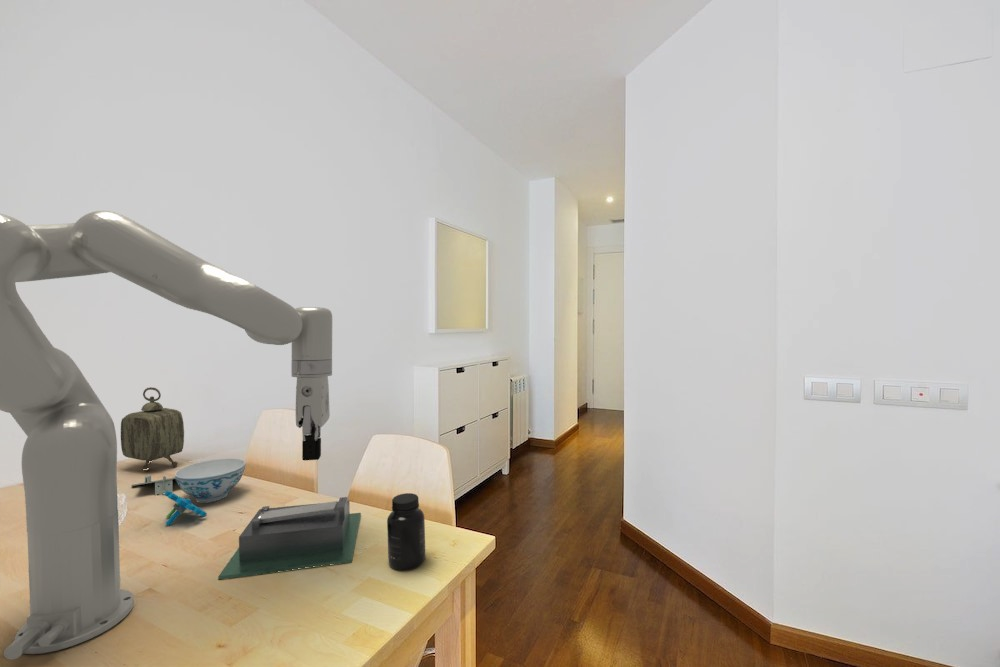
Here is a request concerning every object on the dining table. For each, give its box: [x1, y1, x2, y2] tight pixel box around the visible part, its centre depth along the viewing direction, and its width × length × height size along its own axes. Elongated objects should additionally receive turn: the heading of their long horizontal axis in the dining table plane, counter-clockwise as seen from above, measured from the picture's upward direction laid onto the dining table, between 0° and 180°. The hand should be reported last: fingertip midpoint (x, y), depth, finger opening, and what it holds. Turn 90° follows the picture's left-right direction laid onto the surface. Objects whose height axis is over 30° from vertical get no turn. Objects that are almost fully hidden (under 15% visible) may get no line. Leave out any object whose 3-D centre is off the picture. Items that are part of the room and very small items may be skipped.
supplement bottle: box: [386, 493, 426, 572], centre depth 79 cm, size 7×7×12 cm
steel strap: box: [257, 500, 338, 523], centre depth 86 cm, size 4×14×1 cm, turn 103°
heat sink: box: [217, 496, 362, 580], centre depth 86 cm, size 20×22×8 cm
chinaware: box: [174, 457, 246, 503], centre depth 109 cm, size 15×15×8 cm
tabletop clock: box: [120, 387, 185, 470], centre depth 131 cm, size 14×9×25 cm, turn 74°
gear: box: [163, 491, 208, 526], centre depth 96 cm, size 11×6×10 cm
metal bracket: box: [130, 474, 176, 496], centre depth 117 cm, size 14×6×15 cm
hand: (311, 458), depth 86 cm, fingers closed
